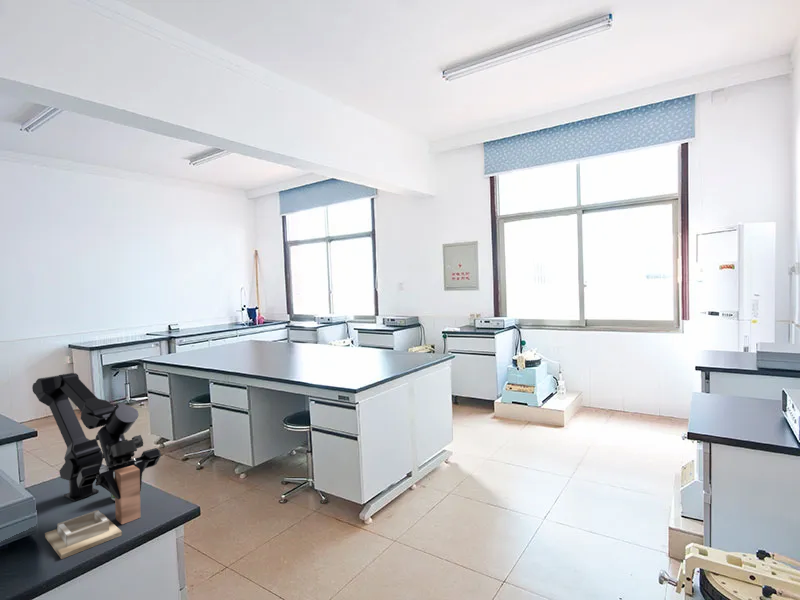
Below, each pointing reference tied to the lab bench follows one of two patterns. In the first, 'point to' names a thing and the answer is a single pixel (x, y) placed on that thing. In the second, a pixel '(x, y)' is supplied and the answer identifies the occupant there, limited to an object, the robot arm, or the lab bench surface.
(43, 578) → the lab bench surface
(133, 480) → the peg
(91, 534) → the socket holder
